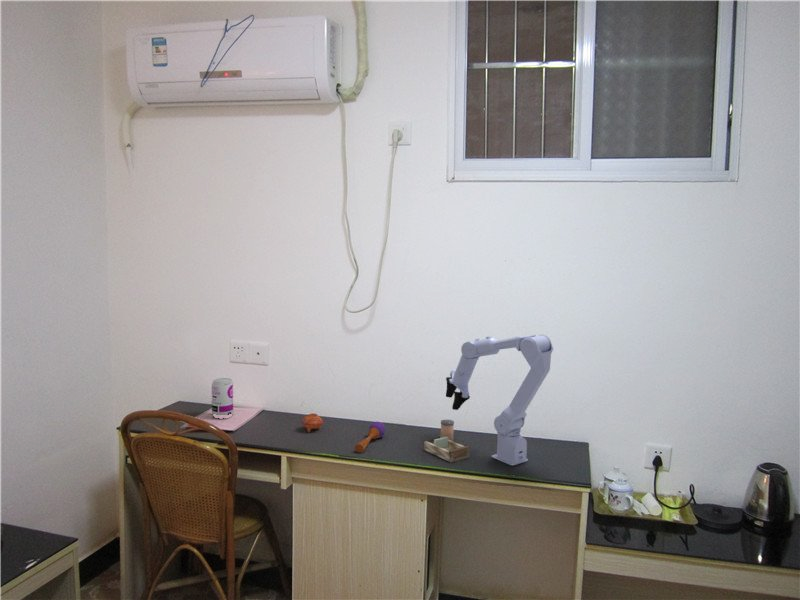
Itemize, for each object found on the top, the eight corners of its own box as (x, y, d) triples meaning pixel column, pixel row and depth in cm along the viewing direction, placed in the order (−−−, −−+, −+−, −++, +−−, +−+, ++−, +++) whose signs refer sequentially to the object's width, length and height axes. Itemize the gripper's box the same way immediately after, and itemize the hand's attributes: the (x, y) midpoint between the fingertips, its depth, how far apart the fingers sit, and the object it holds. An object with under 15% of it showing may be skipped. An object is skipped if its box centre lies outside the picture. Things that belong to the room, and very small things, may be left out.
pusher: (447, 446, 203) (448, 437, 202) (435, 449, 199) (435, 440, 199) (446, 445, 204) (446, 436, 203) (433, 449, 200) (433, 439, 200)
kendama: (349, 440, 199) (371, 419, 217) (353, 457, 199) (374, 434, 218) (365, 440, 197) (386, 418, 215) (368, 456, 197) (389, 434, 216)
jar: (456, 440, 212) (456, 422, 211) (446, 443, 209) (446, 424, 208) (447, 437, 216) (447, 418, 215) (437, 439, 213) (438, 421, 212)
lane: (469, 457, 196) (469, 446, 196) (451, 462, 191) (451, 451, 191) (442, 445, 207) (442, 435, 207) (424, 449, 202) (424, 439, 202)
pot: (296, 429, 220) (299, 411, 220) (311, 429, 225) (314, 412, 226) (309, 434, 214) (312, 415, 215) (325, 434, 220) (328, 416, 221)
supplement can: (236, 414, 238) (236, 378, 236) (228, 420, 230) (228, 383, 228) (217, 413, 239) (216, 377, 237) (208, 419, 230) (208, 382, 229)
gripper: (447, 359, 211) (436, 390, 216) (460, 381, 199) (447, 413, 204) (465, 361, 214) (453, 392, 219) (479, 383, 201) (465, 415, 206)
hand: (451, 402), depth 211 cm, fingers open, 7 cm apart
